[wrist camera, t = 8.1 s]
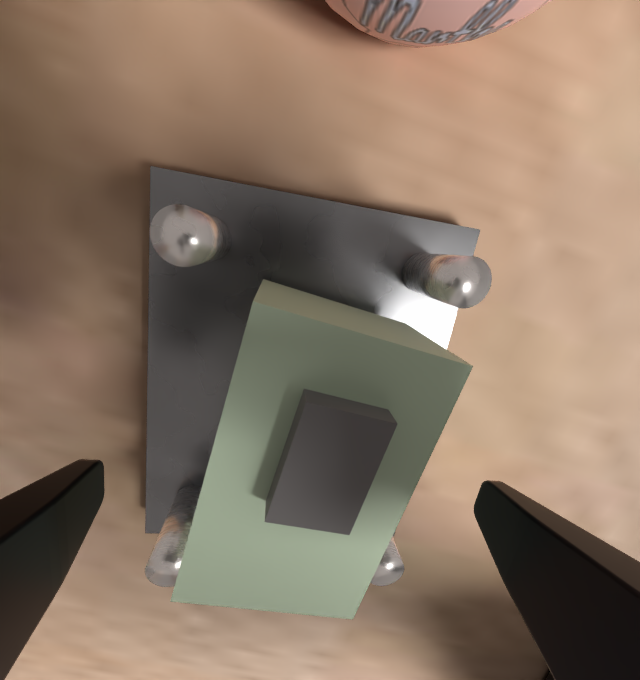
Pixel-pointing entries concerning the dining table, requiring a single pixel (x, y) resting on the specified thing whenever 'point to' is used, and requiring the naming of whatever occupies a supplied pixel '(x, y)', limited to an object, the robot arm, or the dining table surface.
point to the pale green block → (314, 455)
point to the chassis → (235, 304)
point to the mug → (432, 18)
